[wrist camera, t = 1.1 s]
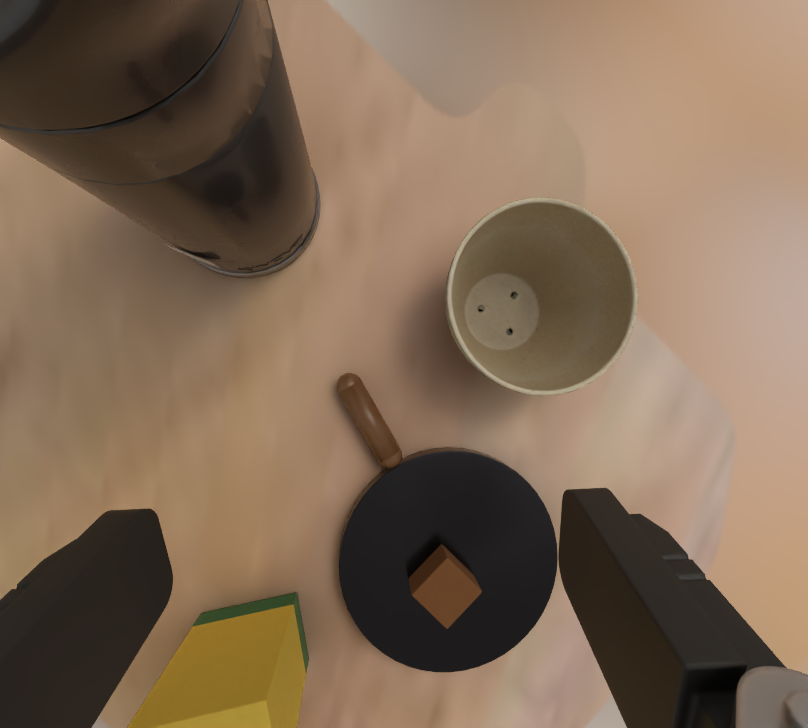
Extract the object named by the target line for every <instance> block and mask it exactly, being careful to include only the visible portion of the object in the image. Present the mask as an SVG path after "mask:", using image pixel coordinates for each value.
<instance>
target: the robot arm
mask: <svg viewBox="0 0 808 728" xmlns="http://www.w3.org/2000/svg"><path fill="white" fill-rule="evenodd" d="M0 138H1V139H3V140H4V141H6V142H7V143H9V144H11V145H12V146H14V147H16V148H17V149H19V150H20V151H22V152H24V153H26V154H27V155H29V156H31V157H32V158H34V159H36V160H37V161H39V162H41V163H42V164H44V165H45V166H47V167H49V168H50V169H52V170H53V171H55V172H57V173H58V174H60V175H61V176H63V177H65V178H66V179H68V180H70V181H71V182H73V183H74V184H76V185H78V186H79V187H81V188H82V189H84V190H86V191H87V192H89V193H90V194H92V195H94V196H95V197H97V198H98V199H100V200H102V201H103V202H105V203H106V204H108V205H110V206H111V207H113V208H115V209H116V210H118V211H119V212H121V213H123V214H124V215H126V216H127V217H129V218H131V219H132V220H134V221H135V222H137V223H139V224H140V225H142V226H143V227H145V228H147V229H148V230H150V231H152V232H153V233H155V234H156V235H158V236H160V237H161V238H163V239H164V240H166V241H168V242H169V243H171V244H172V245H174V246H175V247H177V248H178V249H180V250H178V249H176V248H173V247H171V246H168V245H166V244H164V245H166V246H168V247H169V248H171V249H173V250H174V251H177V252H179V253H182V254H185V255H187V256H190V257H191V258H192V259H194V260H195V261H196V262H198V263H200V264H201V265H203V266H205V267H206V268H208V269H210V270H213V271H215V272H217V273H220V274H224V275H228V276H233V277H257V276H263V275H267V274H270V273H273V272H275V271H278V270H280V269H282V268H283V267H285V266H287V265H288V264H290V263H291V262H292V261H294V260H295V259H296V258H297V257H298V256H299V255H300V254H301V253H302V252H303V251H304V250H305V248H306V247H307V246H308V244H309V242H310V241H311V239H312V237H313V235H314V233H315V230H316V227H317V224H318V220H319V215H320V194H319V189H318V185H317V181H316V177H315V174H314V172H313V169H312V167H311V164H310V160H309V156H308V152H307V148H306V144H305V141H304V137H303V133H302V129H301V125H300V122H299V118H298V114H297V110H296V106H295V103H294V99H293V95H292V91H291V87H290V84H289V80H288V76H287V72H286V68H285V65H284V61H283V57H282V53H281V49H280V46H279V42H278V38H277V34H276V30H275V27H274V23H273V19H272V15H271V12H270V8H269V4H268V0H0ZM181 250H182V251H181ZM559 568H560V574H561V578H562V582H563V585H564V588H565V591H566V593H567V595H568V598H569V600H570V602H571V604H572V606H573V609H574V611H575V613H576V615H577V618H578V620H579V622H580V624H581V626H582V629H583V631H584V633H585V635H586V638H587V640H588V642H589V644H590V646H591V649H592V651H593V653H594V655H595V658H596V660H597V662H598V664H599V666H600V669H601V671H602V673H603V675H604V678H605V680H606V682H607V684H608V686H609V689H610V691H611V693H612V695H613V697H614V699H615V702H616V704H617V706H618V709H619V711H620V713H621V715H622V717H623V720H624V722H625V724H626V726H627V728H808V675H807V674H804V673H801V672H798V671H795V670H792V669H788V668H786V667H785V666H784V665H783V664H782V662H781V661H780V660H779V659H778V658H777V657H776V656H775V655H774V654H773V652H772V651H771V650H770V649H769V648H768V646H767V645H766V644H765V643H764V642H763V641H762V639H761V638H759V636H758V635H757V634H756V633H755V631H754V630H753V629H752V628H751V627H750V626H749V625H748V624H747V622H746V621H745V620H744V619H743V618H742V617H741V615H740V614H739V613H738V612H737V611H736V610H735V609H734V607H733V606H732V605H731V604H730V603H729V602H728V600H727V599H726V598H725V597H724V596H723V595H722V594H721V592H720V591H719V590H718V589H717V588H716V587H715V586H714V584H713V583H712V582H711V581H710V580H706V578H705V574H704V573H703V572H702V571H701V569H700V568H699V567H698V566H697V565H696V564H695V563H694V561H693V560H689V559H688V555H687V553H686V552H685V551H684V550H683V549H682V548H681V546H680V545H679V544H678V543H677V542H676V541H675V540H674V538H673V537H672V536H671V535H670V534H669V533H668V532H667V531H666V530H664V529H663V528H661V527H660V526H658V525H656V524H655V523H653V522H652V521H650V520H649V519H647V518H646V517H644V516H643V515H641V514H628V512H627V511H626V510H625V509H624V507H623V506H622V505H621V504H620V502H619V501H618V500H617V499H616V497H615V496H614V495H613V493H612V492H611V491H610V490H609V489H607V488H593V489H572V490H566V491H565V492H564V494H563V499H562V512H561V526H560V541H559ZM172 584H173V573H172V568H171V565H170V561H169V557H168V553H167V549H166V546H165V542H164V538H163V534H162V530H161V526H160V523H159V519H158V516H157V514H156V513H155V512H154V511H153V510H152V509H131V510H110V511H107V512H105V513H104V514H102V515H101V516H100V517H99V518H98V519H97V520H96V521H95V522H94V523H93V524H92V525H91V526H90V527H89V528H88V529H87V530H86V531H85V532H84V533H83V534H82V535H81V536H80V537H78V538H77V539H75V540H74V541H72V542H71V543H69V544H68V545H66V546H64V547H63V548H61V549H60V550H58V551H57V552H55V553H53V554H52V555H50V556H49V557H47V558H46V559H44V560H43V561H42V562H40V563H39V564H38V565H37V566H36V567H35V568H34V569H33V570H32V571H31V572H30V573H29V574H28V575H27V576H26V577H24V578H23V579H22V580H21V581H20V582H19V583H18V584H17V588H16V589H12V590H11V591H9V592H8V593H7V594H6V595H5V596H4V597H3V598H2V599H1V600H0V728H91V727H92V726H93V724H94V723H95V721H96V720H97V718H98V716H99V715H100V713H101V711H102V710H103V708H104V707H105V705H106V703H107V702H108V700H109V698H110V697H111V695H112V694H113V692H114V690H115V689H116V687H117V685H118V684H119V682H120V681H121V679H122V677H123V676H124V674H125V672H126V671H127V669H128V668H129V666H130V664H131V663H132V661H133V659H134V658H135V656H136V655H137V653H138V651H139V650H140V648H141V647H142V645H143V643H144V642H145V640H146V638H147V637H148V635H149V634H150V632H151V630H152V629H153V627H154V625H155V624H156V622H157V621H158V619H159V617H160V616H161V614H162V612H163V611H164V609H165V607H166V605H167V603H168V601H169V598H170V595H171V591H172Z"/></svg>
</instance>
